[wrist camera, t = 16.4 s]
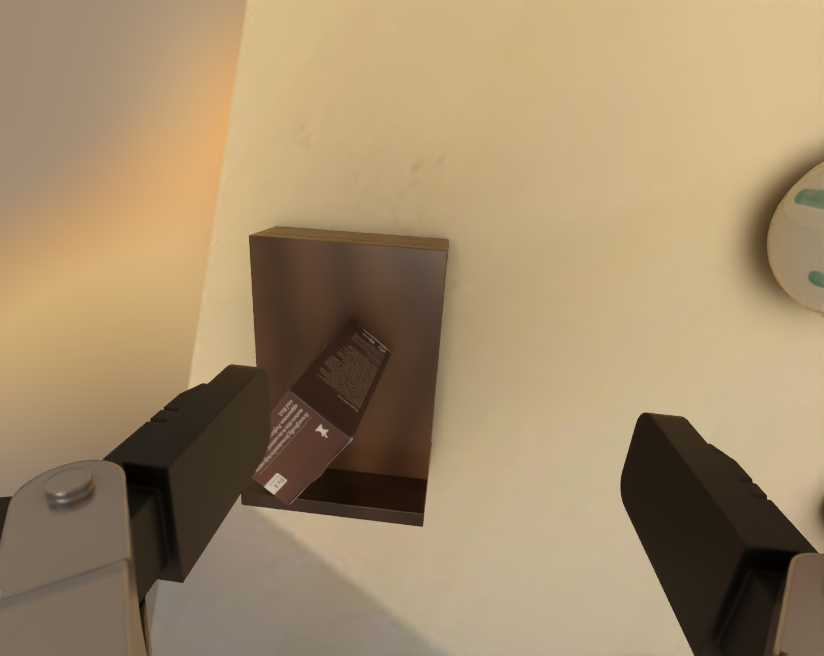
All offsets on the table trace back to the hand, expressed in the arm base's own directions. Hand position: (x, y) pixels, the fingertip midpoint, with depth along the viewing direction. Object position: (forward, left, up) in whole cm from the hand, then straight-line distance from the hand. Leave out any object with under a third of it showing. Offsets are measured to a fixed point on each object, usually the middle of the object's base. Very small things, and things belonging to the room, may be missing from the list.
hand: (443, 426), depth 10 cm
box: (-7, -9, -23) cm, 26 cm away
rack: (-8, -10, -28) cm, 31 cm away
